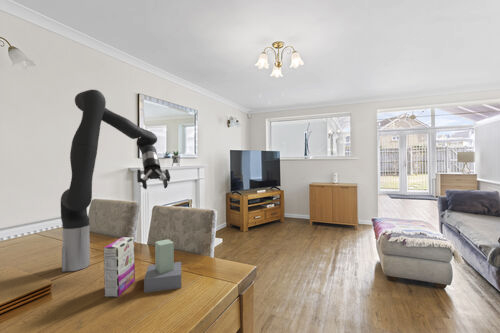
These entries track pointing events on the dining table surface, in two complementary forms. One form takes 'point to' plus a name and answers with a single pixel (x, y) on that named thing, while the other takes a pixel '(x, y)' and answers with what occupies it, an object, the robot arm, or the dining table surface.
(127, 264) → the candy bar box
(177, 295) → the dining table surface
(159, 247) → the sage block
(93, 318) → the dining table surface
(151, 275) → the base block
